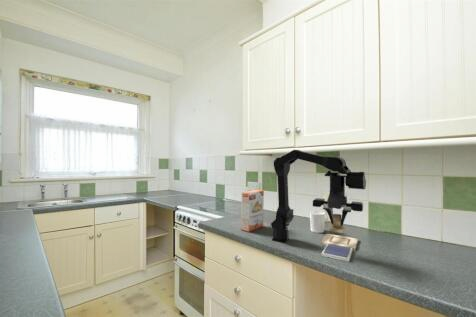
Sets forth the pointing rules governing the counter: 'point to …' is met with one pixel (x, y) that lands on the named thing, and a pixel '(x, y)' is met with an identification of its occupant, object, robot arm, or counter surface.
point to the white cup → (317, 221)
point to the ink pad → (337, 252)
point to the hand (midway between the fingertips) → (337, 225)
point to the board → (340, 241)
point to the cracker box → (252, 210)
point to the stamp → (337, 224)
